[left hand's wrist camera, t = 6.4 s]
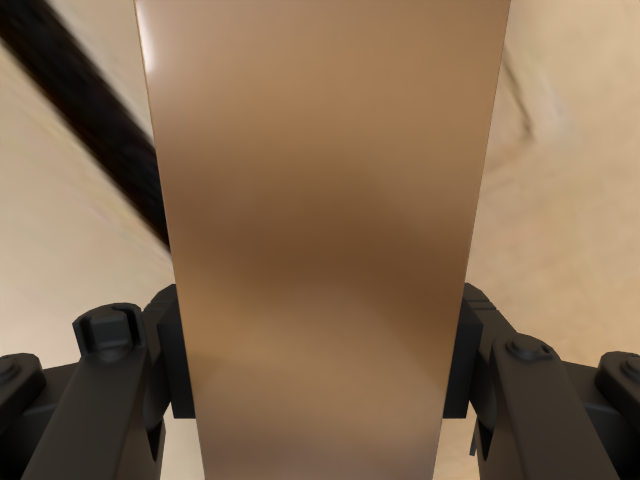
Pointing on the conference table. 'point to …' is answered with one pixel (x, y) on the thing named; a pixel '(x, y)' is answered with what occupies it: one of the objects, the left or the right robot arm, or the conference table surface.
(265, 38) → the beam
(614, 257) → the conference table surface
